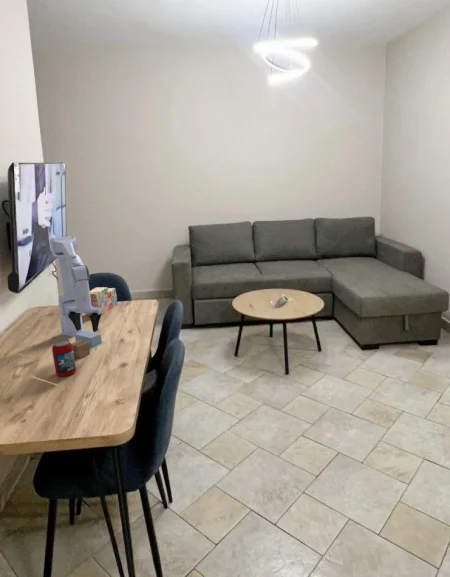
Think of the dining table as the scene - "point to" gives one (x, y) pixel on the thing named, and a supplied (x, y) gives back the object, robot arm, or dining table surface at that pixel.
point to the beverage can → (63, 358)
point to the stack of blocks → (103, 298)
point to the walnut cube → (80, 349)
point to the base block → (89, 338)
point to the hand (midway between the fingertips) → (87, 330)
